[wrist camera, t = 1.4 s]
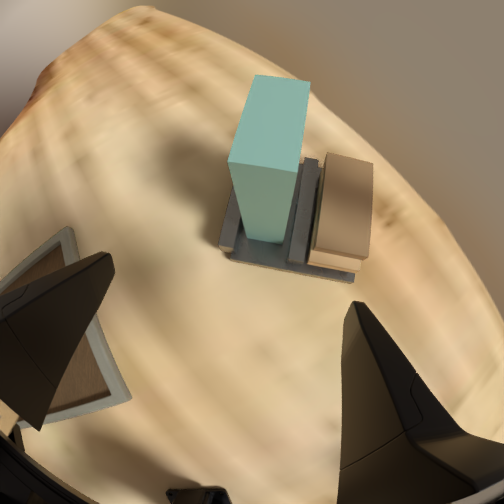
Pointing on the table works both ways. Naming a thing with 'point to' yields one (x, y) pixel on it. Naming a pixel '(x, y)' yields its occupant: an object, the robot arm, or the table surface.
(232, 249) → the rack
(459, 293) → the table surface
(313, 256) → the offcut middle
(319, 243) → the offcut top
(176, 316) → the table surface
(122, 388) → the picture frame
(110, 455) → the table surface
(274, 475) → the table surface
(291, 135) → the teal rectangular block
